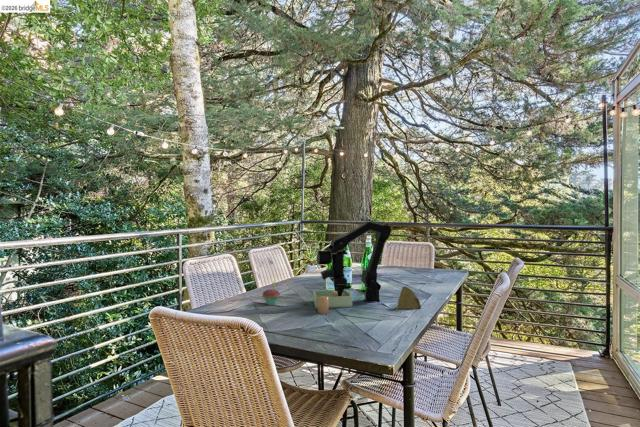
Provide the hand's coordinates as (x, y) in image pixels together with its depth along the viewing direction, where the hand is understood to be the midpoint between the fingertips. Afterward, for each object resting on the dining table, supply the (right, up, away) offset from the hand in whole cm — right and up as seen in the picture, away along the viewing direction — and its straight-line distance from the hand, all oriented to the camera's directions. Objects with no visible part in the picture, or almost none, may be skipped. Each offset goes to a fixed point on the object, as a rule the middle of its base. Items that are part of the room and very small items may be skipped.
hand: (338, 295), depth 201 cm
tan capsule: (-7, -5, -15) cm, 17 cm away
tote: (-3, -4, 0) cm, 5 cm away
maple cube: (0, -4, 0) cm, 4 cm away
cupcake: (-33, -5, +1) cm, 33 cm away
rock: (+33, -5, -9) cm, 35 cm away
